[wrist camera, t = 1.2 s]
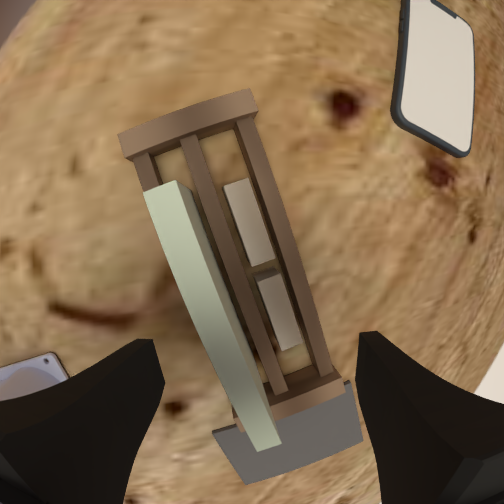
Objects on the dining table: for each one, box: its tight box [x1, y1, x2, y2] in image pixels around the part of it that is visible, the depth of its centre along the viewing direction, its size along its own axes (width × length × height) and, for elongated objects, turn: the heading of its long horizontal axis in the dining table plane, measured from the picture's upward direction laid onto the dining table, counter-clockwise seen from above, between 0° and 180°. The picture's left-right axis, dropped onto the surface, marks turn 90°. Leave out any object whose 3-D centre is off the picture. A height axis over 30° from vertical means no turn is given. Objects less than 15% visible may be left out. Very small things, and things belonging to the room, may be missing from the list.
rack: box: [117, 88, 346, 433], centre depth 20 cm, size 8×21×3 cm, turn 19°
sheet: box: [143, 180, 282, 452], centre depth 16 cm, size 1×12×10 cm, turn 19°
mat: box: [212, 381, 363, 485], centre depth 24 cm, size 12×8×1 cm, turn 109°
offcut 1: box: [222, 178, 276, 267], centre depth 20 cm, size 2×5×2 cm, turn 19°
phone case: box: [390, 0, 475, 158], centre depth 20 cm, size 9×2×16 cm
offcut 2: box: [252, 266, 303, 351], centre depth 21 cm, size 2×5×2 cm, turn 19°
